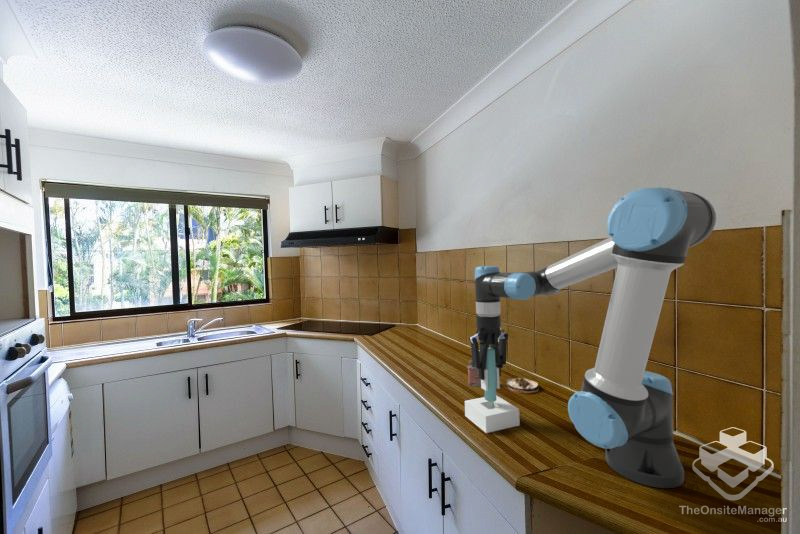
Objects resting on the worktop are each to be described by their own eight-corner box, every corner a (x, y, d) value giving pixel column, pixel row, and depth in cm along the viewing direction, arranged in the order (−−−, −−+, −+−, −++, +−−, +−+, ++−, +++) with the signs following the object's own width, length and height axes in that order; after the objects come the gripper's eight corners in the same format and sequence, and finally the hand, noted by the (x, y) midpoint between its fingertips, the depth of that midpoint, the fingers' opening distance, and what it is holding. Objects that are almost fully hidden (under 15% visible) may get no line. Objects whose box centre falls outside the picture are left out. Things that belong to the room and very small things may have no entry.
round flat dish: (551, 392, 127) (551, 381, 126) (520, 399, 121) (519, 388, 121) (524, 379, 140) (524, 370, 140) (495, 385, 135) (494, 375, 135)
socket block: (519, 425, 101) (519, 409, 101) (486, 433, 97) (485, 416, 97) (495, 409, 113) (495, 394, 113) (465, 415, 109) (464, 400, 109)
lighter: (487, 383, 137) (486, 359, 137) (488, 386, 134) (487, 361, 134) (467, 383, 138) (466, 359, 138) (468, 386, 134) (467, 361, 134)
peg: (498, 400, 104) (497, 349, 104) (489, 402, 103) (487, 351, 102) (492, 396, 107) (490, 347, 107) (482, 397, 106) (481, 348, 106)
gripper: (502, 311, 111) (504, 380, 111) (459, 315, 105) (461, 388, 106) (517, 314, 104) (519, 388, 104) (471, 318, 98) (474, 396, 99)
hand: (490, 388), depth 105 cm, fingers closed on peg, 3 cm apart
